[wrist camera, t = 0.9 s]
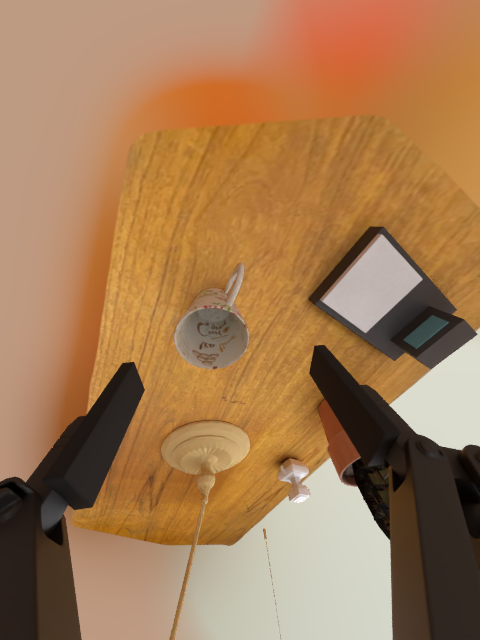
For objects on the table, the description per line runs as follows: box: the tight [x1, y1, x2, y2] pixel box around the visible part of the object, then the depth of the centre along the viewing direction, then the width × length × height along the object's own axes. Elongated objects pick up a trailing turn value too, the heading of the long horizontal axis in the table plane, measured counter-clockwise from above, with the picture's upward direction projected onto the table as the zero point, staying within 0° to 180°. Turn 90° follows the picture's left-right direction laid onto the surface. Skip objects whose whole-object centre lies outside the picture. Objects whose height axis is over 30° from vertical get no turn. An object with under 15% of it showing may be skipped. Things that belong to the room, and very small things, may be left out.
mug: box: [174, 263, 249, 369], centre depth 24 cm, size 8×13×10 cm, turn 155°
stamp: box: [277, 458, 311, 503], centre depth 51 cm, size 9×7×8 cm
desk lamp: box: [161, 420, 266, 640], centre depth 29 cm, size 31×23×40 cm
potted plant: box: [318, 400, 390, 540], centre depth 34 cm, size 14×14×25 cm
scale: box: [309, 227, 477, 369], centre depth 29 cm, size 23×13×7 cm, turn 56°
